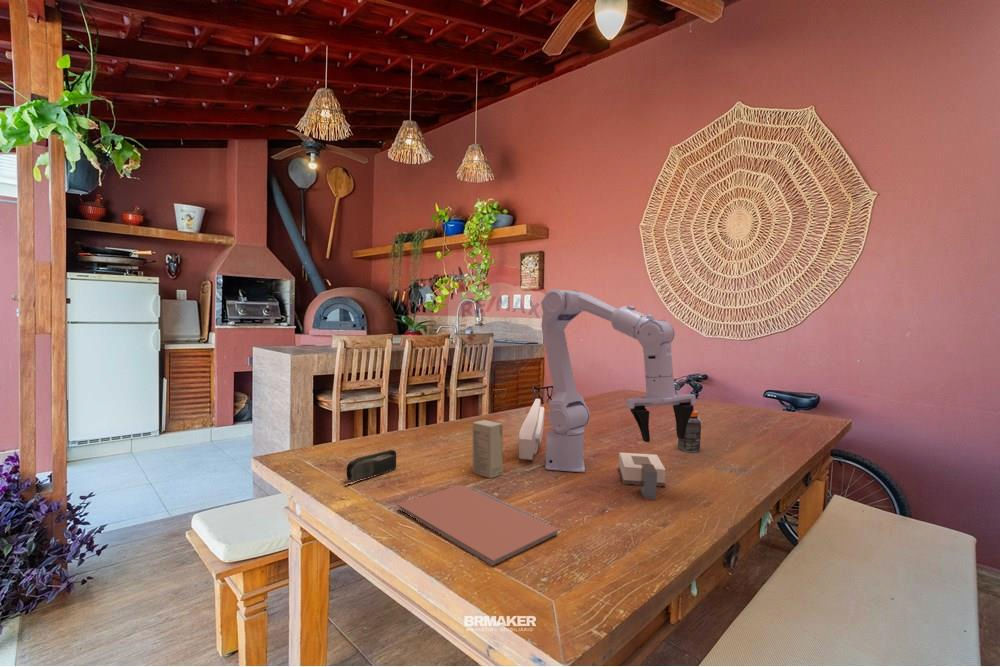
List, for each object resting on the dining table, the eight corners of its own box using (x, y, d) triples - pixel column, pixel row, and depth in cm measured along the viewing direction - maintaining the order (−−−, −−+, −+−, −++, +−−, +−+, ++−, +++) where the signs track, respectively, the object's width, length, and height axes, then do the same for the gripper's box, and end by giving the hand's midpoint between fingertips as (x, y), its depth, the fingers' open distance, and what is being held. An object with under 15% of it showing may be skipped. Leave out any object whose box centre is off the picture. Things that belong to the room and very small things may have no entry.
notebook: (563, 536, 86) (563, 525, 86) (493, 571, 74) (493, 558, 74) (464, 491, 105) (465, 482, 105) (397, 513, 94) (397, 502, 94)
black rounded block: (390, 447, 118) (339, 462, 106) (399, 449, 117) (348, 464, 104) (389, 467, 119) (339, 484, 106) (398, 470, 117) (348, 487, 104)
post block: (623, 484, 110) (624, 466, 110) (618, 468, 121) (619, 452, 121) (664, 487, 109) (665, 469, 109) (656, 470, 120) (656, 454, 120)
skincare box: (503, 474, 115) (504, 423, 114) (490, 479, 111) (491, 426, 111) (483, 468, 119) (485, 418, 118) (471, 472, 116) (472, 421, 115)
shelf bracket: (547, 437, 148) (547, 399, 145) (536, 482, 124) (536, 438, 121) (529, 436, 149) (529, 398, 146) (515, 480, 125) (514, 436, 122)
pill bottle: (701, 449, 139) (703, 410, 139) (697, 454, 134) (699, 413, 134) (680, 445, 143) (681, 407, 142) (675, 450, 138) (677, 410, 137)
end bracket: (644, 499, 102) (645, 471, 102) (640, 490, 107) (641, 463, 106) (655, 500, 102) (657, 472, 101) (651, 491, 107) (653, 464, 106)
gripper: (632, 379, 100) (637, 446, 99) (700, 374, 101) (705, 440, 101) (621, 377, 107) (625, 439, 106) (685, 373, 108) (689, 434, 108)
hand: (663, 439), depth 104 cm, fingers open, 7 cm apart
